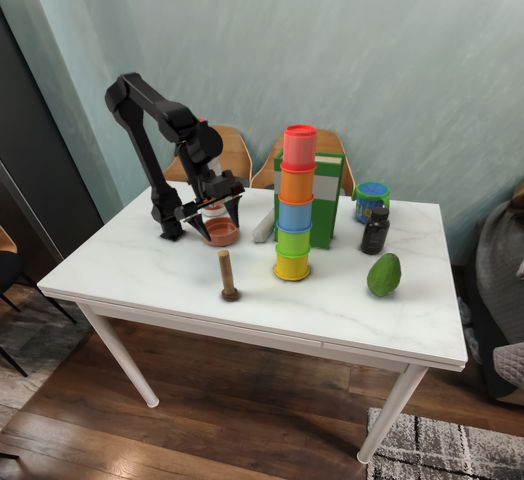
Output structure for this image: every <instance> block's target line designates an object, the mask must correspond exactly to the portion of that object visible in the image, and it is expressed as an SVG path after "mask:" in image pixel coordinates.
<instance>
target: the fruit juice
mask: <svg viewBox="0 0 524 480" xmlns="http://www.w3.org/2000/svg"><path fill="white" fill-rule="evenodd" d="M196 118H197V119H198V120H199V121H200V122H201V121H205V120H206V121H207V123H208V124H209V120H208V118H207V117H196ZM208 166H209V169H210V170H211V169H213V170H214V172H215V174H216V176H220V175H221V174H222V171H223V170H222V165H221V163H220V155H219V156H218V157H217V158H215V159H214V160H212V161H211V162H209V163H208ZM211 198H212V199H213V197H211ZM206 201H207V198H206V200H204V202H206ZM210 202H211V201H210ZM224 202H226V200H225V199H222V200H220V201H218V202H215V203H213V204H211V205H209V206H206V207H204V208H202V209H200V210H201V213H202V215H205V216H207V217H219V216H221V215H224V214H225V213H226V212H227V210H226V207H225V205H224Z"/></svg>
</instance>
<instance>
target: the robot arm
mask: <svg viewBox="0 0 524 480" xmlns="http://www.w3.org/2000/svg"><path fill="white" fill-rule="evenodd" d="M104 103H105V105H106V108H107V109H108V111H109V112H110V113H111V115H112V117H113V118H114V121H115V123H117V124H118V125H119V126H121V127H122V128H123V129H124V131H126V133H127V135H128V138H129V140H130V142H131V143H132V144H131V145H132V146H133V148H134V152H135V153H136V155H137V158H138V159H139V162H140V164H141V166H142V169H143V171H144V174H145V177H146V178H147V181H148V183H149V185H150V188H151V189H150V190H151V191H150V192H151V194H150V200H151V203H152V208H151V212H150V214H151V216H152V219H153V220H154V221H155V222H157V223H158V224H160V228H161V231H162V233H161V234H160V235H159V236H160V238H163V239H166V240H169V241H173V242H175V241H177V240H178V239H180V238H181V237H182V236H184V235H185V234H186V233H187V231H186V230H185V229H183V225H182V222H183V224H185V223H187V224H188V225H189V226H191V227H192V228H194V229H195V230H196V231H197V232H198V233H199V234H200V235H201V236H202V238H203V237H204V238H205V239H206V240H207V241H208V242H211V241H212V240H211V237H210V234H209V232H208V230H207V228H206V226H205V224H204V222H205V221H204V220H203V219H204V218H203V212H200V213H199V211H200V210H201V209H202V208H204V207H206V206H209V205H211V204H213V203H215V202H218V201H220V200H222V199H225V200H226V202H224V205H225V207H226V212H227V213H228V217H230V218H231V220H232V222H233V224H234V225H235V227H236V228H239V229H240V220H239V219H240V218H239V204H240V200H241V199H242V198H243V194H244V193H246V188H245V186H244V184H243V183H242V182H241V181H236V179H235V176H234V174H233V171H232V169H225V170H222V174H221V175H220V176H216V174H215V172H214V170H213V169H211V170H210V169H209V166H208V163H209V162H211V161H212V160H214V159H215V158H217V157H218V156H219V157H220V156H221V154H222V153H223V152H224V151H223V150H224V139H223V137H222V135H221V134H220V133H219V132H218V130H216V129H215V128H214V127H212V126H209V122H208V123H207V121H206V120H205V121H201V122H200V121H199V120H198V119H197V118H198V117H197V116H196V115H195V114H194V113H193V112H192V110H191V109H190V108H189V107H188V106H187V105H185V104H183V103H182V102H179V101H173V100H168V99H166V98H165V97H164V96H163V95H162V94H161V93H160V92H158V91H157V90H156V89H155V88H154V87H152V86H151V85H150V83H148V82H147V81H145V79H143V78H142V75H141V74H140V72H136V71H131V72H126V73H121V74H120V75H119V76H117V78H116V80H115V82H113V83H112V84H111V85H110V86H109V87H107V89H106V91H105V93H104ZM145 112H146V113H147V115H149V116H150V117H151V118H153V120H154V121H155V122H156V123H157V127H158V131H159V133H160V134H161V135H162V136H163V137H164V139H166V141H167V142H169V143H170V144H171V143H172V144H173V143H174V151H173V155H174V157H175V158H178V159H179V162H180V163H181V166H182V168H183V170H184V173H185V175H186V178H187V179H188V180H187V181H186V184H187V186H190V187H191V189H192V192H193V193H194V196H195V198H194V200H191V201H189V202H186V203H184V204H183V201H182V199H181V198H180V196H179V193H178V189H177V188H175V187H173V186H171V184H169V183H168V181H167V180H166V178H165V174H164V172H163V170H162V167H161V165H160V163H159V161H158V158H157V155H156V153H155V150H154V148H153V146H152V145H153V144H152V143H151V141H150V138H149V136H148V133H147V131H146V128H145V126H144V118H145V116H144V115H145ZM211 197H213V199H212V198H211ZM206 198H207V201H206V202H204V200H206ZM210 201H211V202H210ZM181 221H182V222H181Z"/></svg>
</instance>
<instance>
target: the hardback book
mask: <svg viewBox="0 0 524 480" xmlns="http://www.w3.org/2000/svg"><path fill="white" fill-rule="evenodd" d="M282 162H283V148H281V150H280V151H279V152H278V153H277V154H276V155H275V156H274V157H273V205H274V206H273V208H274V242H278V227H277V221H278V220H279V204H280V200H279V199H278V195H279V193H280V192H281V171H282V169H281V167H280V164H281V163H282ZM345 162H346V153H338V152H324V151H316V152H315V164H316V169H315V170H314V179H313V191H312V193H313V194H314V200H313V201H312V208H311V222H312V227H311V229H310V236H309V245H310V246H311V248H317V249H323V250H329V249H330V242H331V239H333V238H334V233H335V227H336V221H337V214H338V208H339V200H340V195H341V189H342V188H341V187H342V183H343V181H342V180H343V174H344V169H345Z"/></svg>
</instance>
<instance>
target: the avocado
mask: <svg viewBox="0 0 524 480" xmlns="http://www.w3.org/2000/svg"><path fill="white" fill-rule="evenodd" d="M401 278H402V267H401V260H400V258H399V257H398V255H397V254H396V253H393V252H386V253H384V254H382V255H381V256H380V257H379V258H378V259H377V260H376V262H375V263H374V264H372V266H371V267H370V269H369V270H368V273H367V276H366V284H367V288H368V289H369V291H370V293H371V294H372V295H375V296H378V297H384V296H387V295H389V294H391V293H392V292H394V291H395V289H397V288H398V286H399V284H400V282H401Z"/></svg>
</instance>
